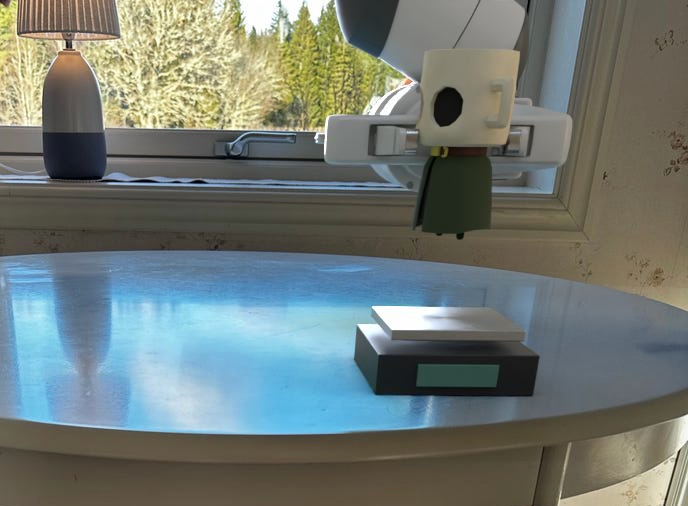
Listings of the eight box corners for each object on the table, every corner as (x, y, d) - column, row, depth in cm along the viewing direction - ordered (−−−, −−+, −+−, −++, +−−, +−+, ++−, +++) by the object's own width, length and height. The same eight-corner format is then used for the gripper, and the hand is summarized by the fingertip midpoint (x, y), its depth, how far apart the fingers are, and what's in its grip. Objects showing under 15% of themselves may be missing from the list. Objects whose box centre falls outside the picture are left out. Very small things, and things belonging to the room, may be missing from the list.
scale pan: (490, 317, 80) (491, 307, 80) (524, 341, 71) (526, 330, 71) (371, 316, 80) (371, 306, 80) (391, 340, 71) (392, 329, 71)
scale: (491, 360, 83) (497, 325, 81) (534, 396, 72) (541, 356, 71) (353, 359, 83) (356, 323, 81) (375, 395, 72) (379, 355, 70)
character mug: (376, 232, 81) (391, 53, 75) (445, 229, 83) (466, 55, 77) (452, 247, 72) (477, 45, 66) (528, 243, 75) (559, 49, 68)
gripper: (314, 97, 84) (332, 94, 72) (546, 98, 84) (602, 95, 72) (310, 176, 87) (326, 186, 75) (534, 177, 87) (585, 187, 75)
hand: (463, 142), depth 74 cm, fingers closed on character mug, 7 cm apart
